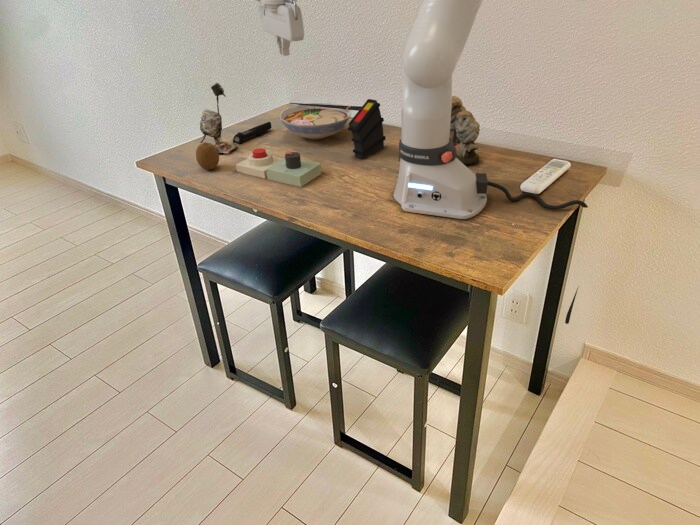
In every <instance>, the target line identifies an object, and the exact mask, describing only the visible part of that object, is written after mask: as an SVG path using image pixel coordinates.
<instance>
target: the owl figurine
mask: <svg viewBox="0 0 700 525" xmlns="http://www.w3.org/2000/svg"><path fill="white" fill-rule="evenodd" d="M480 128H481V125H480V123H479V122H478V121H477V120H476V118H475V117H474V115H473V113H472V112H471V111H470V110H467V109H466V107H465V106H464V105H463V100H462V99H460V97H459V96H457V95H452V108H451V122H450V135H449V139H450V141H451V143H452V144H453V145H454V146H456V145H457V144H459V146H458V148H459V149H458V150H457V151H456V158H457V159H458V160H460V161H461V162H462V163H463V164H464V165H465V166H466V167H468V165H469V166H474V165H475V164H478V163H479V161H480V156H479V154H478V153H477V152H476V151H477V150H479V147H480V145H478V143H477V144H476V143H475V142H476V141H477V139H478V137H479V135H480V130H481V129H480Z"/></svg>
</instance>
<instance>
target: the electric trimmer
mask: <svg viewBox="0 0 700 525" xmlns="http://www.w3.org/2000/svg"><path fill="white" fill-rule="evenodd" d="M271 129H272V122H271V121H267V122H265V123H262V124H259V125H256V126H253V127H251V128H248V129H247V130H245V131H241V132H239V131H238V132H237V133H236V134H235V135H234V136H233V138H232V142H233V144H235V145H243V143H244V142H246V141H248V140H250V139H252V138H254V137H260V136H261V135H263V134H264V133H266V132H268V131H270V130H271Z"/></svg>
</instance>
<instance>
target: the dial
mask: <svg viewBox="0 0 700 525" xmlns="http://www.w3.org/2000/svg"><path fill="white" fill-rule="evenodd" d="M284 159H285V161H286V167H287V168H289V169H296V168H299V167H301V160H302V158H301V153H300V152H297V151H296V152H295V151H289V152H285V155H284Z"/></svg>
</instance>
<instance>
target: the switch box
mask: <svg viewBox="0 0 700 525" xmlns="http://www.w3.org/2000/svg"><path fill="white" fill-rule="evenodd" d="M283 159H284V158H283V157H278V156H275V155H273V153H272V152H270V151H267V150H266V157H264V158H254V157H253V152H251V153H249V154H248V156H247V158H246V159H243V160H242V161H240V162H238V163H236V164H235V168H236V172H237V173H240V174H245V175H249V176H253V177H258V178H261V179H266V178H268V177H267V168H269V167H271V166H273V165H274V164H276V163H278V162H280V161H281V160H283Z"/></svg>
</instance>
